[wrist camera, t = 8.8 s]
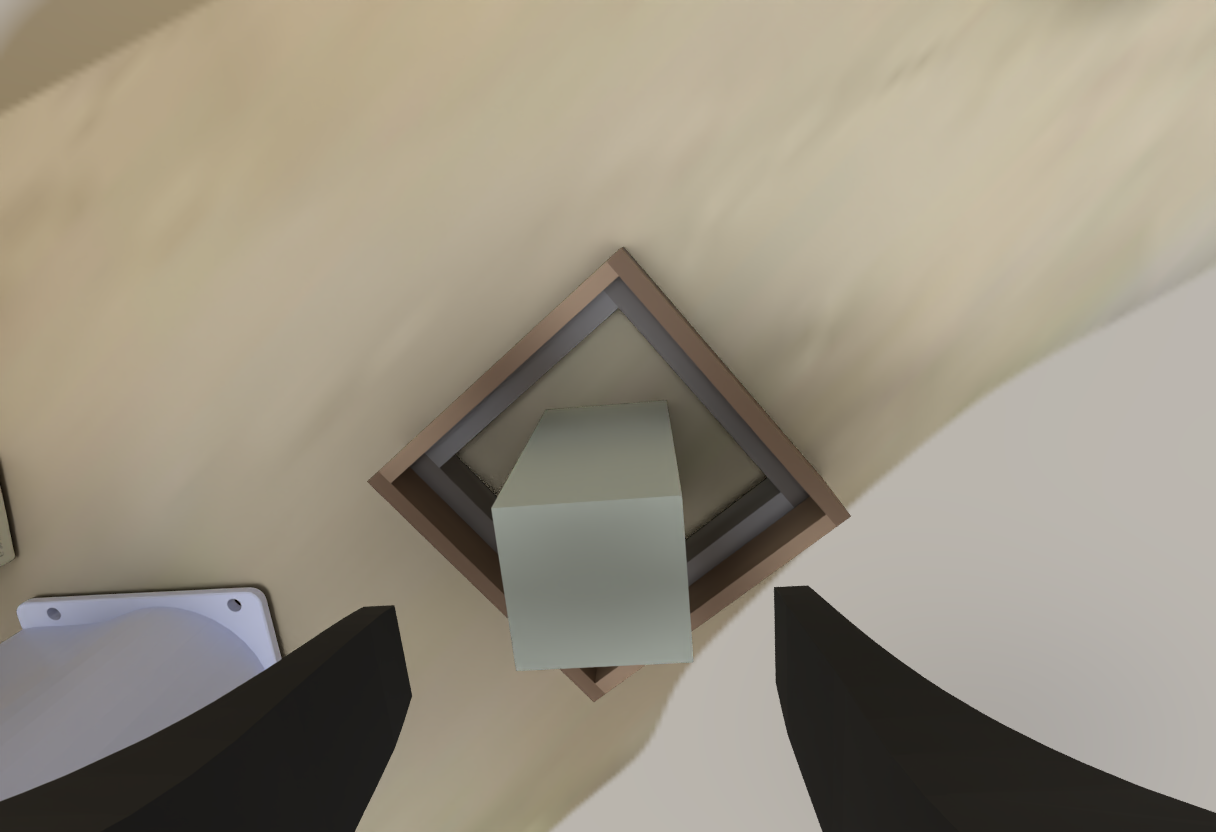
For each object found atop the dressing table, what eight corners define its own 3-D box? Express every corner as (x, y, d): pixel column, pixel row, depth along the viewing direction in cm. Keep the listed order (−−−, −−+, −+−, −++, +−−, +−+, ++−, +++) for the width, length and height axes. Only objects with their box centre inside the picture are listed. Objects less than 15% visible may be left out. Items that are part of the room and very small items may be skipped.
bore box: (599, 644, 23) (594, 702, 20) (403, 449, 22) (366, 481, 19) (822, 478, 21) (851, 516, 18) (623, 246, 19) (620, 248, 17)
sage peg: (559, 520, 22) (516, 670, 14) (545, 409, 21) (491, 508, 13) (674, 512, 22) (693, 662, 14) (666, 400, 21) (681, 495, 13)
